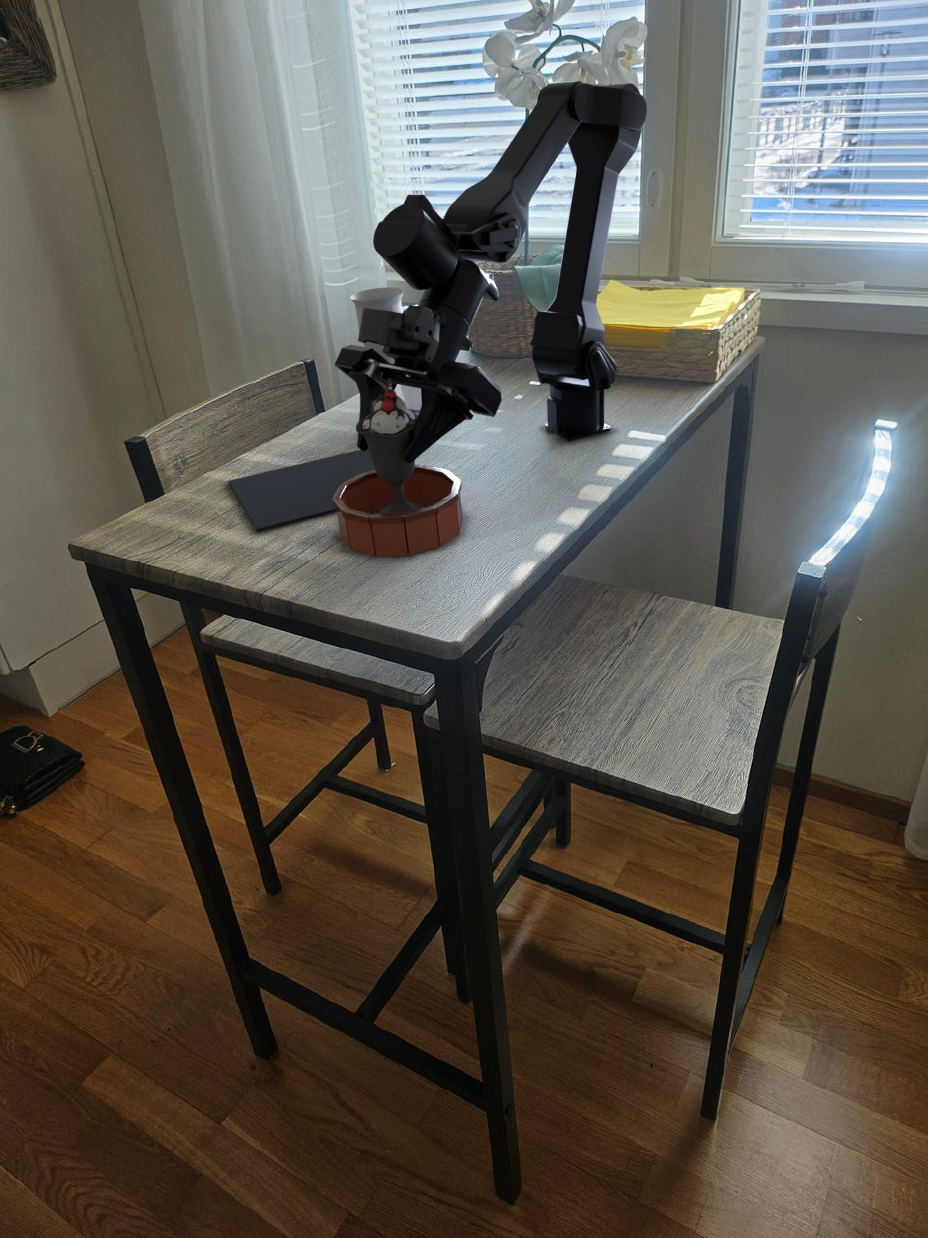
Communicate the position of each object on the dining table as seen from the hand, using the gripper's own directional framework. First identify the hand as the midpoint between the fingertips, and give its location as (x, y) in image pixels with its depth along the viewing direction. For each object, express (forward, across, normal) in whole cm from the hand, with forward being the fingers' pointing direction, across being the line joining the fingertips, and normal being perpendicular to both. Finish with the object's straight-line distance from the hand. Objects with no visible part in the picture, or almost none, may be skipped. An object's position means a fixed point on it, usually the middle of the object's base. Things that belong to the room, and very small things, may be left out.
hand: (382, 455), depth 89 cm
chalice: (-9, -22, +22) cm, 33 cm away
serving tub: (+5, 0, +7) cm, 9 cm away
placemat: (+3, -16, +9) cm, 19 cm away
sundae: (+4, 0, +6) cm, 7 cm away
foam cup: (-17, -26, +30) cm, 43 cm away
